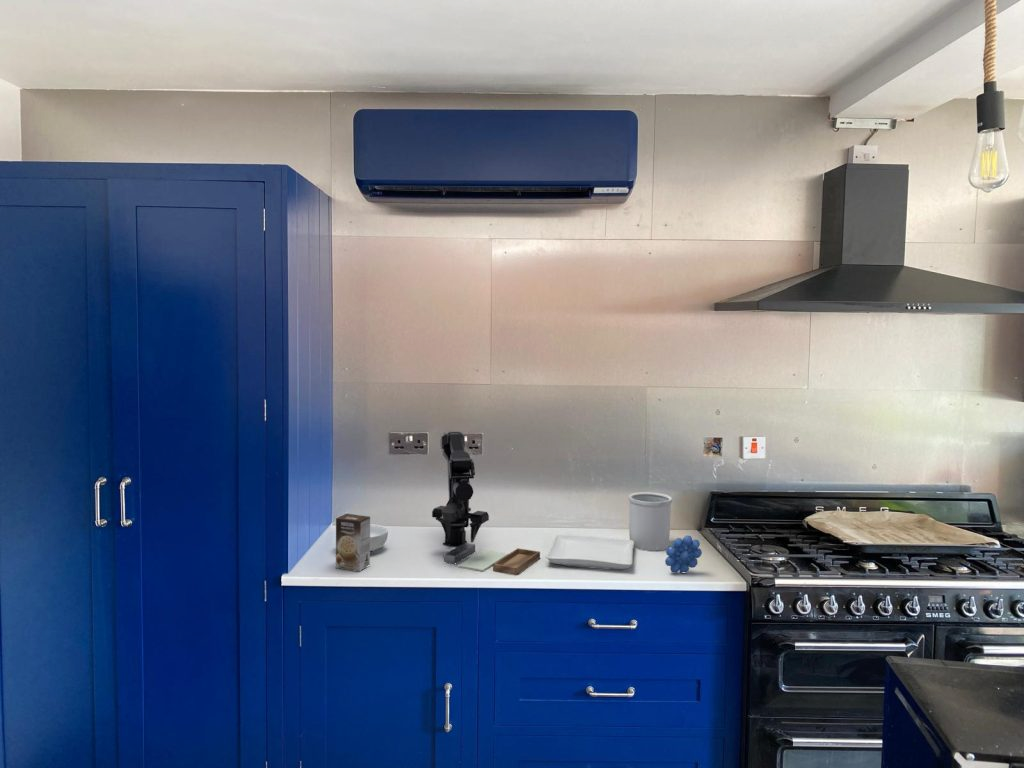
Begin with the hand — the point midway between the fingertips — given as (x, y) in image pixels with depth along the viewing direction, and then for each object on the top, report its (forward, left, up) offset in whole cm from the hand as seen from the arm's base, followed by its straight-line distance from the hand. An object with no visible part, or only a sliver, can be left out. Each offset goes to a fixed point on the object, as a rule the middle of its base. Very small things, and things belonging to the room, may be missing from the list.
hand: (460, 540), depth 220 cm
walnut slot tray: (+20, +2, -6) cm, 21 cm away
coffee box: (-25, -24, -6) cm, 35 cm away
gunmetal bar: (0, 0, -6) cm, 6 cm away
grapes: (+69, +19, -6) cm, 72 cm away
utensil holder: (+53, +42, -6) cm, 68 cm away
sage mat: (+9, 0, -6) cm, 11 cm away
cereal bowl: (-33, -9, -6) cm, 35 cm away
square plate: (+39, +20, -6) cm, 44 cm away
